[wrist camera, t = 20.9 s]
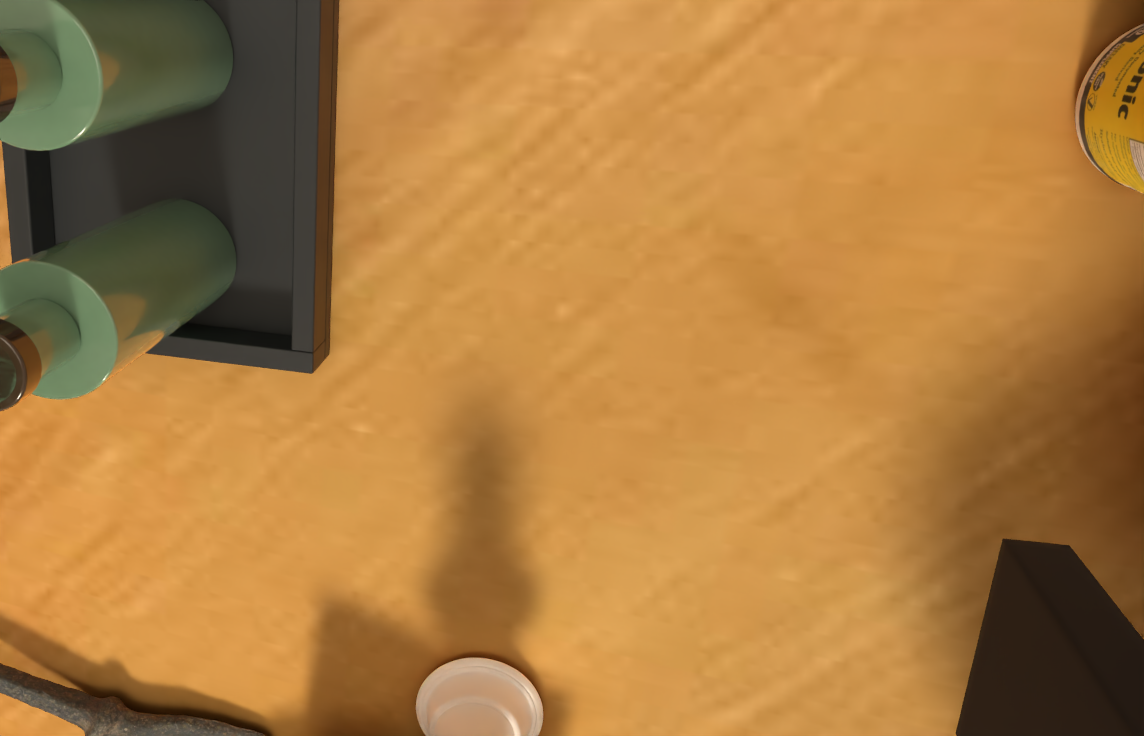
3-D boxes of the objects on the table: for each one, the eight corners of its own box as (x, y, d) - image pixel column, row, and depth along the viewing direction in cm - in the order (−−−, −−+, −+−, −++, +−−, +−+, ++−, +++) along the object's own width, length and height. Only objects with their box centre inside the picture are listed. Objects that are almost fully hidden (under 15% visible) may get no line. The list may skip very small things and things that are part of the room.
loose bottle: (237, 205, 36) (54, 302, 25) (237, 314, 37) (64, 453, 26) (124, 191, 36) (-109, 282, 25) (128, 300, 37) (-90, 433, 26)
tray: (329, 354, 38) (312, 374, 36) (49, 320, 39) (17, 338, 37) (348, -323, 31) (328, -344, 29) (-1, -361, 31) (-44, -384, 29)
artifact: (275, 757, 43) (231, 831, 45) (286, 726, 45) (243, 800, 47) (-89, 611, 40) (-121, 698, 42) (-64, 584, 42) (-95, 669, 44)
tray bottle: (234, 119, 35) (43, 180, 24) (118, 105, 35) (-128, 160, 24) (233, -6, 34) (30, -4, 22) (112, -20, 34) (-152, -25, 22)
